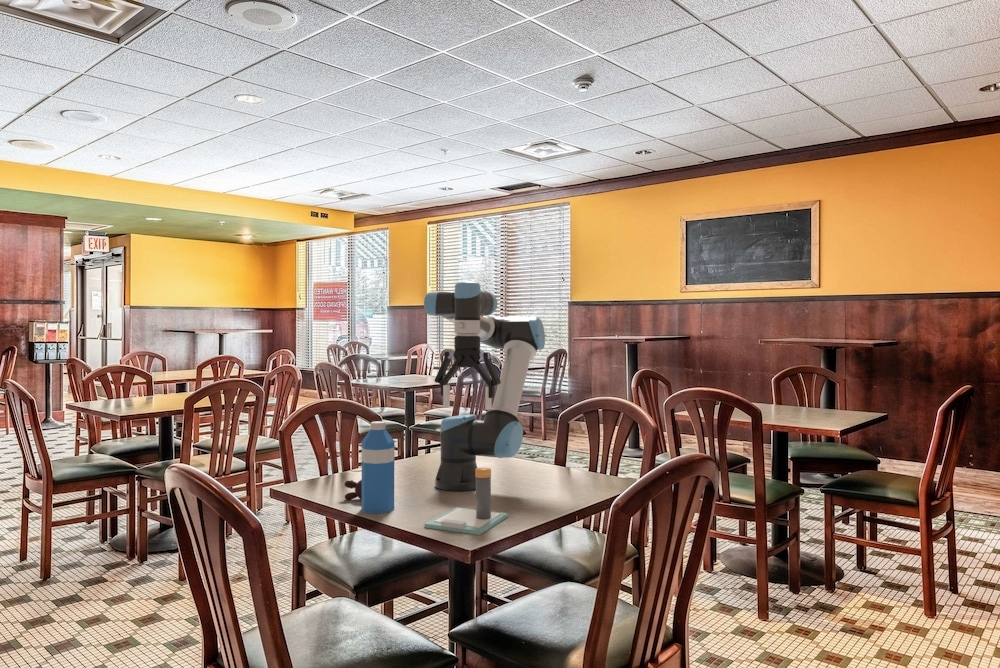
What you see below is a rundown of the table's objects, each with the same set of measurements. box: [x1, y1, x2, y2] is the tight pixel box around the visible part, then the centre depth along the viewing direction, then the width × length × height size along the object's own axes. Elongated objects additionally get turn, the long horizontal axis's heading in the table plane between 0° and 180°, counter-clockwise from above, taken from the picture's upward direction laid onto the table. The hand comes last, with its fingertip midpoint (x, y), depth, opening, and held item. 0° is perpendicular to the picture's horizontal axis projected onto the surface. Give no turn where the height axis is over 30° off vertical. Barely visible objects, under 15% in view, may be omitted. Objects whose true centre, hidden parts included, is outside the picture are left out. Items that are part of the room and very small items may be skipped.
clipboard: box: [423, 506, 509, 536], centre depth 182 cm, size 18×16×2 cm
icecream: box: [344, 479, 362, 501], centre depth 206 cm, size 7×7×15 cm
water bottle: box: [361, 420, 395, 515], centre depth 195 cm, size 9×9×25 cm
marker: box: [475, 467, 492, 520], centre depth 182 cm, size 4×4×13 cm
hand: (467, 408), depth 198 cm, fingers open, 13 cm apart
